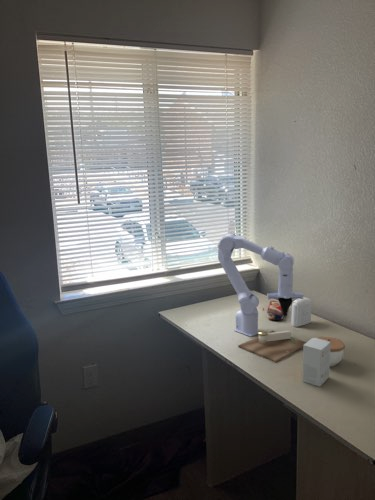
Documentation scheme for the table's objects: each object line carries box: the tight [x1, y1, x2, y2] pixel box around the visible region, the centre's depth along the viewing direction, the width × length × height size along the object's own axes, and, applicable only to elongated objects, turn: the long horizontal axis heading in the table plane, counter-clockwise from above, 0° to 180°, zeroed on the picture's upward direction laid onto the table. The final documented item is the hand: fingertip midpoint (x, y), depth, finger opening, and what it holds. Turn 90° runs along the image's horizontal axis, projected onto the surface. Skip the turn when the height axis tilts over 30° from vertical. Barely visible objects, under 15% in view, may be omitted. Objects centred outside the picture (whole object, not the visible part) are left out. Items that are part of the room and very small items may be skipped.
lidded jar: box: [317, 336, 346, 367], centre depth 148 cm, size 11×11×9 cm
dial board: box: [237, 330, 308, 363], centre depth 163 cm, size 18×22×1 cm
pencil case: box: [266, 300, 284, 321], centre depth 198 cm, size 11×20×5 cm, turn 149°
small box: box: [301, 337, 331, 388], centre depth 136 cm, size 8×6×13 cm
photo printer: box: [290, 296, 313, 328], centre depth 184 cm, size 10×4×12 cm, turn 123°
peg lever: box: [257, 329, 292, 344], centre depth 165 cm, size 14×4×4 cm, turn 105°
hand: (284, 315), depth 171 cm, fingers closed
